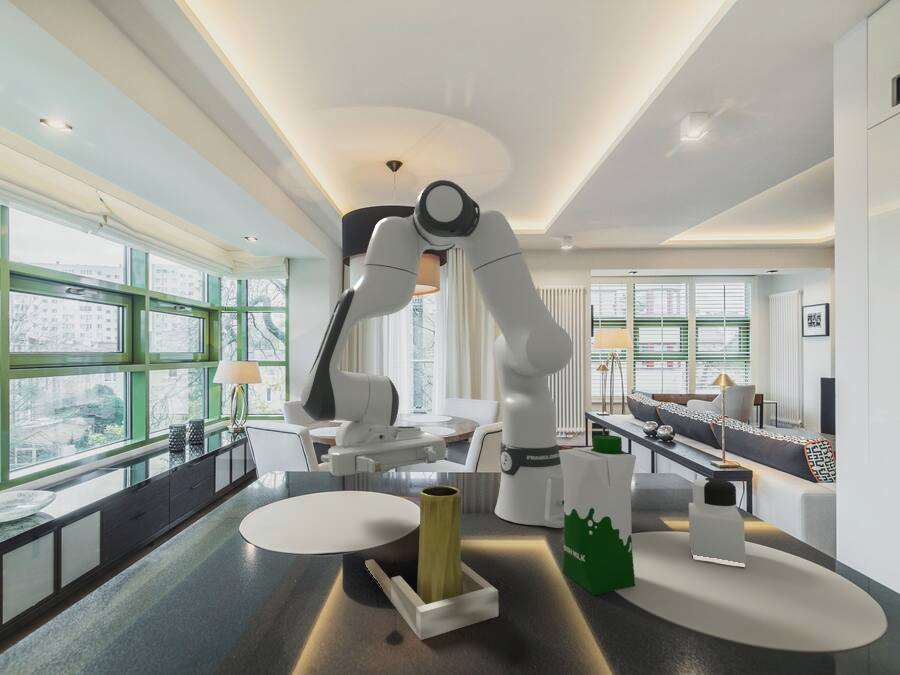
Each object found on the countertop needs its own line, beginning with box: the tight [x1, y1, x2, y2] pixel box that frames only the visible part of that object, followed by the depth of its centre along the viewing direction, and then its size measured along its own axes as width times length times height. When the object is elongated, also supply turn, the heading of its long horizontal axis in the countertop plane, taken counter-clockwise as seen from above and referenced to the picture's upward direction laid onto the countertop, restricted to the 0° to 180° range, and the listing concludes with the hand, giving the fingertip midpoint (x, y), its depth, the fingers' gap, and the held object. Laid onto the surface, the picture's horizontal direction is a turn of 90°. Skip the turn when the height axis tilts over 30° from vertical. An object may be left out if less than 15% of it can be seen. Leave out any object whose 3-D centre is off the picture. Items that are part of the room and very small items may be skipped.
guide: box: [364, 558, 499, 641], centre depth 61 cm, size 10×20×3 cm, turn 28°
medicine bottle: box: [688, 476, 746, 564], centre depth 73 cm, size 7×7×12 cm
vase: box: [416, 485, 463, 605], centre depth 58 cm, size 6×6×14 cm
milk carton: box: [559, 434, 637, 596], centre depth 65 cm, size 9×9×20 cm
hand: (405, 462), depth 70 cm, fingers open, 8 cm apart
